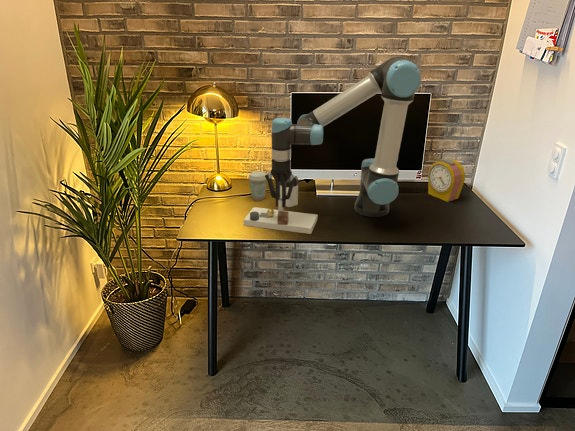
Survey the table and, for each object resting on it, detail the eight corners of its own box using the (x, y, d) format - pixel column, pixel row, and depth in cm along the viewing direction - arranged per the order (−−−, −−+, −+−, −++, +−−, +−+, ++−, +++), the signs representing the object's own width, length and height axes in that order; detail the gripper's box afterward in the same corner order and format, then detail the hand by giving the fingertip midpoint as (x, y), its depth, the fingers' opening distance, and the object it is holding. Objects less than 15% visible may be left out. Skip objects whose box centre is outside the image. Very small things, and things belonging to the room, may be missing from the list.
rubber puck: (260, 217, 187) (260, 212, 186) (257, 221, 184) (257, 215, 183) (251, 216, 188) (251, 211, 187) (248, 220, 185) (248, 214, 184)
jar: (285, 208, 201) (285, 183, 196) (275, 202, 207) (275, 177, 202) (301, 204, 206) (302, 179, 200) (291, 198, 212) (292, 174, 207)
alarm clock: (424, 192, 219) (429, 156, 211) (435, 189, 223) (441, 153, 215) (449, 203, 208) (456, 165, 200) (461, 199, 212) (468, 162, 204)
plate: (317, 220, 191) (317, 214, 190) (310, 233, 180) (311, 228, 179) (253, 212, 197) (253, 207, 196) (243, 225, 186) (243, 219, 185)
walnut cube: (288, 220, 185) (288, 211, 183) (287, 224, 181) (287, 215, 179) (278, 220, 185) (278, 211, 183) (277, 224, 181) (277, 215, 180)
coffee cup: (250, 202, 207) (250, 177, 202) (247, 195, 214) (247, 171, 209) (269, 200, 209) (269, 176, 204) (265, 193, 216) (265, 170, 211)
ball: (275, 208, 188) (268, 206, 188) (273, 211, 185) (266, 209, 186) (274, 215, 189) (267, 213, 190) (272, 218, 187) (265, 216, 187)
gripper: (299, 157, 178) (298, 211, 189) (267, 154, 181) (268, 208, 191) (295, 163, 172) (294, 219, 182) (262, 160, 175) (262, 215, 185)
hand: (280, 213), depth 187 cm, fingers closed
